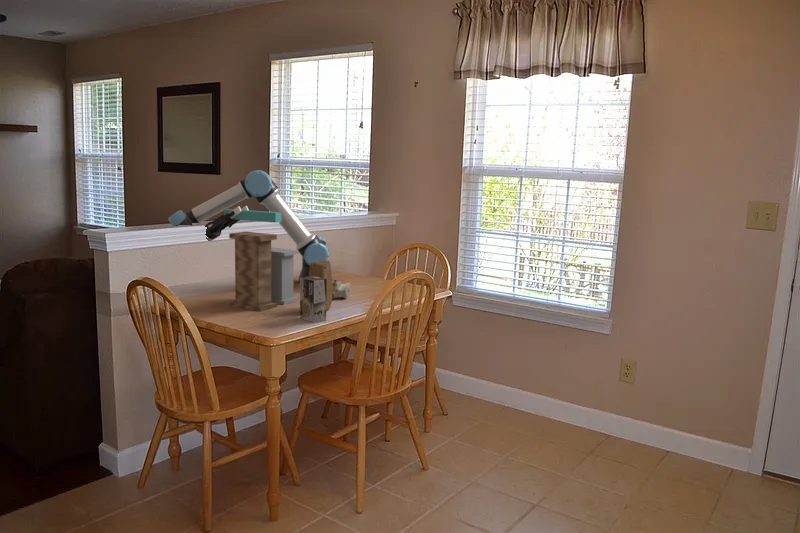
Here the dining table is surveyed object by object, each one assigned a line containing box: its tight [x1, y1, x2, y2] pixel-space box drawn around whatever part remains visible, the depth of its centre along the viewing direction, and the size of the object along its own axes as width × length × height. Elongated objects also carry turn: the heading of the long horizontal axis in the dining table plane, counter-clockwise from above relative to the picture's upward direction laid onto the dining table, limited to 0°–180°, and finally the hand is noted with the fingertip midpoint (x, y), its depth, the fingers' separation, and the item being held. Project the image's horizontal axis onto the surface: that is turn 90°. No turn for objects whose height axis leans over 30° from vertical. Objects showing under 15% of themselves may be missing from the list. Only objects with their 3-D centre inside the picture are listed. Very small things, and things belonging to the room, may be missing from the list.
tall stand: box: [228, 231, 278, 312], centre depth 252 cm, size 16×10×30 cm, turn 63°
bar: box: [224, 208, 281, 224], centre depth 267 cm, size 28×4×4 cm, turn 63°
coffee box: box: [299, 276, 327, 323], centre depth 235 cm, size 9×6×16 cm
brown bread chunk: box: [309, 260, 334, 312], centre depth 251 cm, size 11×8×20 cm
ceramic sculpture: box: [332, 279, 352, 300], centre depth 275 cm, size 11×9×15 cm
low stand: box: [271, 247, 300, 305], centre depth 266 cm, size 16×10×22 cm, turn 63°
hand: (243, 208), depth 269 cm, fingers closed on bar, 4 cm apart
